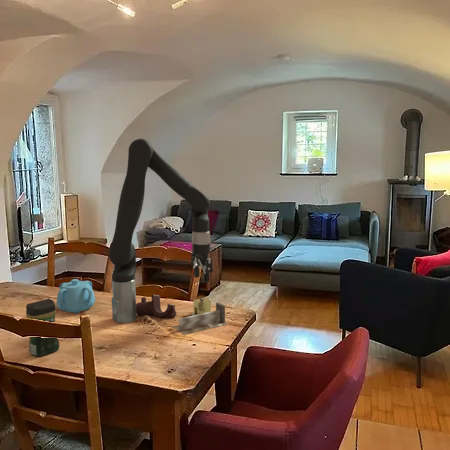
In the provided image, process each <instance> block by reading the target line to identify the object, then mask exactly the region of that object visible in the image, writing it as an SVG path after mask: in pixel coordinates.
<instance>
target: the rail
mask: <svg viewBox="0 0 450 450" xmlns="http://www.w3.org/2000/svg"><path fill="white" fill-rule="evenodd" d="M178 320H179V321H178V322H179V323H178V325H173V326H172V328H173V329H174V330H176V331H177V332H178V333H180V334H182V335H183V336H187V335H191V334H194V333H198V332H199V333H200V332H203V331H206V330H207V331H208V330H211V329H215V328H218V327H219V328H220V327H223V326H227V325H229V324H228V323H227V322H226V306H225V305H224V304H222V303H220V302H218V301H217V302H216V303H215V310H211V312H207V313H203V314H198V315H190V316H185V317H180V318H178Z"/></svg>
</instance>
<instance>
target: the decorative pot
mask: <svg viewBox="0 0 450 450" xmlns="http://www.w3.org/2000/svg"><path fill="white" fill-rule="evenodd" d="M95 303H96V296H95V292H94V290H93V283H92V281H89V280H79V279H78V278H74V279H71V280H70V281H69V282H62V283H60V284H59V290H58V292H57V296H56V303H55V305H56V308H57V309H58V310H60V311H63V312H67V313H73V314H80V312H81V311H85V310H89V309H91V307H93V305H94V304H95Z"/></svg>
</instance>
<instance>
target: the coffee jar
mask: <svg viewBox="0 0 450 450" xmlns="http://www.w3.org/2000/svg"><path fill="white" fill-rule="evenodd" d="M25 308H26V309H25V311H26V312H25V315H26V318H27V319H28V318H31V319H38V320H43V321H49V322H55V323H56V314H57V306H56V303H55V301H54V300H52V299H50V298H46V299H43V300H42V299H41V300H39V301H35V302H30V303H27V304H26V307H25ZM28 337H29V336H28ZM28 339H29V340H28V341H29V342H28V346H29V349H28V352H29V353H30V355H32V356H33V357H42V356H47V355H49V354H52V353H54V352H57V351H58V350H59V349H60V342H59V338H58V339H57V338H41V337H29V338H28Z"/></svg>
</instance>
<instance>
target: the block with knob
mask: <svg viewBox="0 0 450 450" xmlns="http://www.w3.org/2000/svg"><path fill="white" fill-rule="evenodd" d="M211 301H212V300H211V299H210V298H207V297H200V298H198V299H197V298H196V299H193V301H192V303H193V304H192V305H193V313H194V314H197V315H198V314H203V313H207V312H212V306H211V305H212V302H211Z"/></svg>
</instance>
